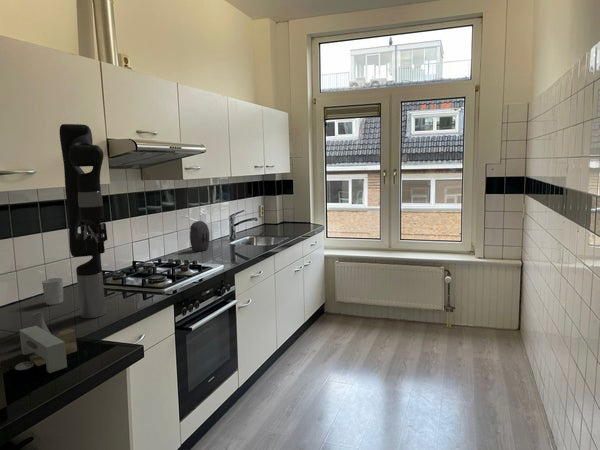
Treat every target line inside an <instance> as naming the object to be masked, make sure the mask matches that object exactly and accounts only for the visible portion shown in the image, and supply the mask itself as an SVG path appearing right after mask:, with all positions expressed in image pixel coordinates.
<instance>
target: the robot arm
mask: <svg viewBox="0 0 600 450" xmlns="http://www.w3.org/2000/svg"><path fill="white" fill-rule="evenodd" d="M59 140H60V148H61V154H62V161H63V170H64V171H63V172H64V188H65V190H64V191H65V199H66V205H67V206H66V207H67V215H68V216H67V217H68V242H69V244H68V245H69V252H70V256H71V257H72V258H81V257H91V258H90V259H89V260H88V261H86V262H84V263H81V264H80V265H77V267H76V268H75V273H76V281H77V291H78V300H79V301H78V303H79V312H80V317H81V319H95V318H99V317H102V316H104V315H105V314H106V313H107V309H106V308H107V307H106V300H105V299H106V298H105V287H104V276H103V267H102V255H101V254H105V252H106V249H105V242H106V241H108V232H107V225H106V223H105V222H101V219H103V218H105V215H104V214H105V213H104V203H103V202H104V201H103V195H102V190H101V170H102V167H103V166H102V165H103V161H104V156H105V155H104V150H103V149H102V147H101V146H99V145H97V144H93V134H92V130H91V128H90V126H88V125H87V124H79V123H78V124H77V123H76V124H75V123H62V124H61V125H59ZM83 167H84V168H85V167H92V169H91V170H90V171H88V172H86V173H85V172H84V170H83V169H82V168H83ZM79 227H80V233H79Z"/></svg>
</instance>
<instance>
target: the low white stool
mask: <svg viewBox="0 0 600 450" xmlns="http://www.w3.org/2000/svg"><path fill="white" fill-rule="evenodd" d="M18 332H19V338H20V346H21V347H20V348H21V354H22V355H24V356H26V355H29V354H34V353H35V354H36V355H39V356H40V357H42V358H43V359H45V360H46V372H47V373H49V374H51V373H54V372H57V371H60V370H63V369H66V368H68V362H67V357H66V350H65V342H64V341H62V340H60V339H59V337H57V336H55V335H54V334H52V333H51V332H50V333H51V334H50V333H48V332H47V331H45V330H43V329H41V328H40V327H38V326H34V325H33V326H28V327H24V328H21V329H19V330H18Z"/></svg>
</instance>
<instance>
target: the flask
mask: <svg viewBox="0 0 600 450" xmlns="http://www.w3.org/2000/svg"><path fill="white" fill-rule="evenodd" d="M32 317H33V321H34V322H33V326H38V327H40V328H41V329H43V330H45V331H47V332H48V333H50V334H52V333H51V332H50V330H49V328H48V326H47V324H46V323H45V319H44V311H43V312H42V311H39V312H38V311H37V312H35V313H33V314H32Z"/></svg>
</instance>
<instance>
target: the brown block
mask: <svg viewBox="0 0 600 450" xmlns="http://www.w3.org/2000/svg"><path fill="white" fill-rule="evenodd" d="M57 335H58V338H59V339H60V340H62V341H64V342H65V350H66V358H67V356H68V355H70V354H73V353H76V352H78V346H77V345H78V344H77V338H76V330H75V329H73V328H68V329H63V330H62V331H59V332H58V334H57ZM29 361H32V362H34V366H37V367H39V366H42V365H45V364H46V360H45V359H43V358H42V357H40V356H39V355H37V354H36V355H33V356H29Z"/></svg>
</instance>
